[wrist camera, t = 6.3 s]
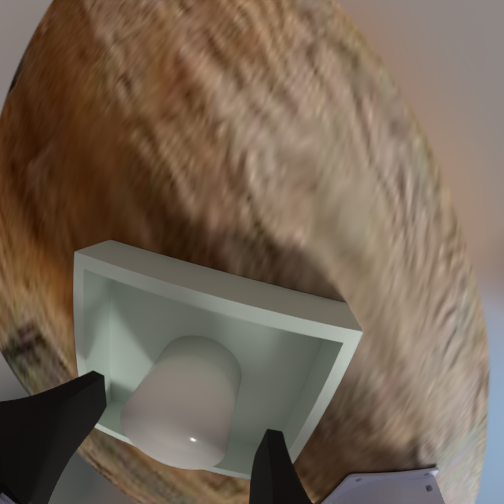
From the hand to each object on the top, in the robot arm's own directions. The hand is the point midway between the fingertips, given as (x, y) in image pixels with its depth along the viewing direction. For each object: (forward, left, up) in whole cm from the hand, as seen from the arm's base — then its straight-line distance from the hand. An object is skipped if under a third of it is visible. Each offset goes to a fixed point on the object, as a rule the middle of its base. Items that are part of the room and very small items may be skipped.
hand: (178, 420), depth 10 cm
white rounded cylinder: (0, 0, -4) cm, 4 cm away
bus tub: (0, 0, -4) cm, 4 cm away
